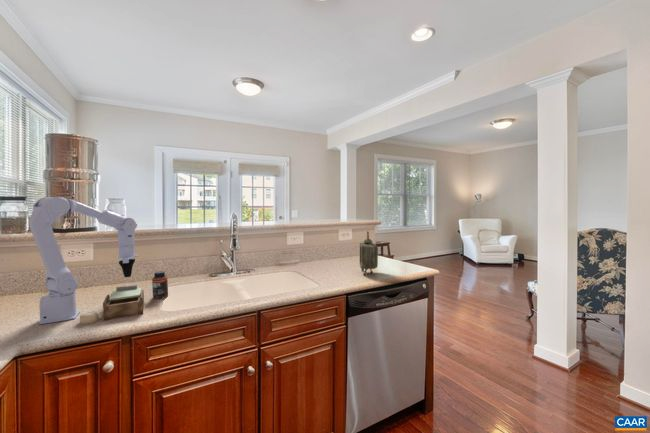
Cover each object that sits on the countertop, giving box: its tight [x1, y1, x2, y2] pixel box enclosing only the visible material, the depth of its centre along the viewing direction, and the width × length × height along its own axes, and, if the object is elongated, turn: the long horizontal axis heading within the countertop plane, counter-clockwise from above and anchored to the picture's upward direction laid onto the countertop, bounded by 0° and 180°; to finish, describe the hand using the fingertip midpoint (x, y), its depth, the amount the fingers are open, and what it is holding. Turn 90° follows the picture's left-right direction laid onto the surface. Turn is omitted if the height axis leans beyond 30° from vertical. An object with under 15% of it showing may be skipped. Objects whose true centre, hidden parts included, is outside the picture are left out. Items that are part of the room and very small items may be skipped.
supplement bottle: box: [151, 270, 169, 300], centre depth 128 cm, size 6×6×11 cm
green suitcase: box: [359, 230, 379, 277], centre depth 169 cm, size 14×9×25 cm, turn 178°
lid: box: [109, 284, 142, 301], centre depth 116 cm, size 10×11×2 cm
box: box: [102, 289, 145, 321], centre depth 111 cm, size 12×11×6 cm
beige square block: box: [79, 311, 99, 326], centre depth 102 cm, size 5×5×3 cm
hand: (127, 276), depth 125 cm, fingers closed
